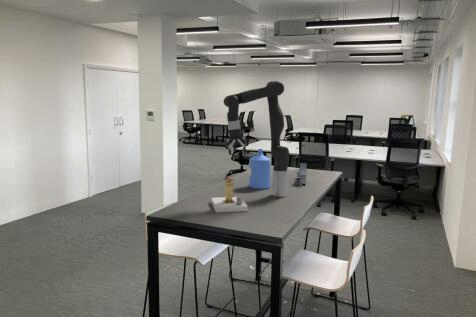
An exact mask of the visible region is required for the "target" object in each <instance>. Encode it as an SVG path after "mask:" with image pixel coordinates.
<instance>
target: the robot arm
mask: <svg viewBox="0 0 476 317" xmlns="http://www.w3.org/2000/svg"><path fill="white" fill-rule="evenodd" d="M284 91H285V86H284V84H283V82H281V81H279V80H275V81H273V80H272V81H269V82H267V84H266V85H265V86H264V87H259V88H254V89H253V88H252V89H249V90H245V91H241V92H238V93H235V94H229V95H227V96H225V97H224V99H223V104H224V106H225V107H227V108H228V112H226V118H227V130H228V136H229V138H224V148H225V149H226V150H227V151H228V155H230V156H232V147H233V146H235V145H236V146H237V145H241V146H242V151H243V154H246V153H247V148H246V147H248V146H249V141H248V136H247V135H245V136H242V129H241V121H240V116H239V109H240V108H239V106H240V105H242V104H247V103H251V102H254V101H257V100H260V99H264V98H267V105H268V114H269V126H270V127H269V128H270V154H271V157H272V158H273V159H274V160H278V161H277V162H278V163H277V164H275V165H273V168H272V197H275V198H277V197H278V198H285V197H287V192H288V191H287V190H288V189H287V188H288V168H289V164H290V163H289V162H290V150H289V148H288V147H287V146H284V145H281V135H282V133H283V130H284V128H285V118H284V117H285V116H284V113H283V111H282V109H281V107H280V104H279V96H281V95H282V94H283V93H284ZM243 140H244V142H245V144H244V143H243ZM229 142H230V143H229ZM228 143H229V145H228Z"/></svg>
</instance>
